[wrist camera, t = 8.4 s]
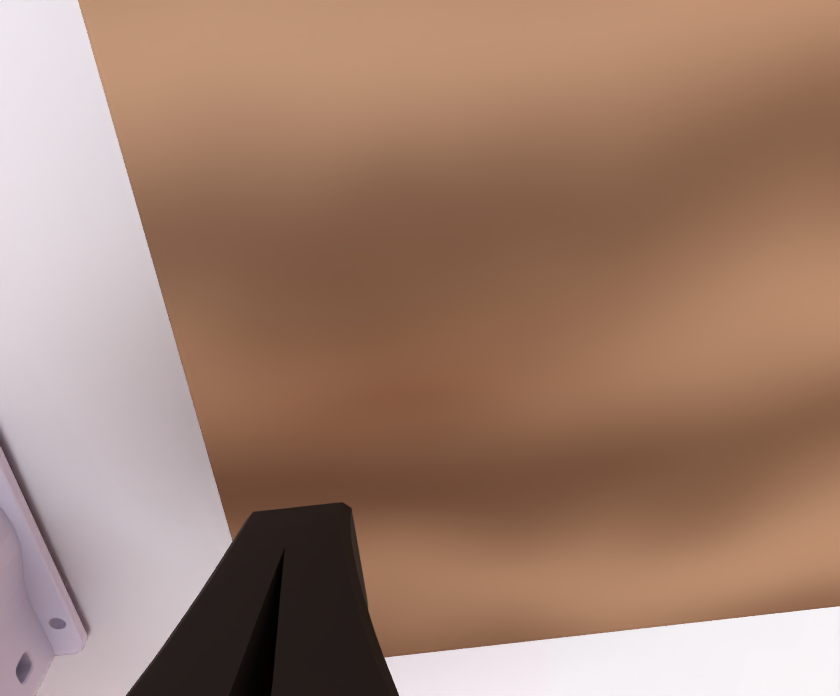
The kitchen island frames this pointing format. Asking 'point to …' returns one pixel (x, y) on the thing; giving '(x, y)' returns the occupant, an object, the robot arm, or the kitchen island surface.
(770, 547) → the wooden block
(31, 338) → the kitchen island surface
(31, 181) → the kitchen island surface
